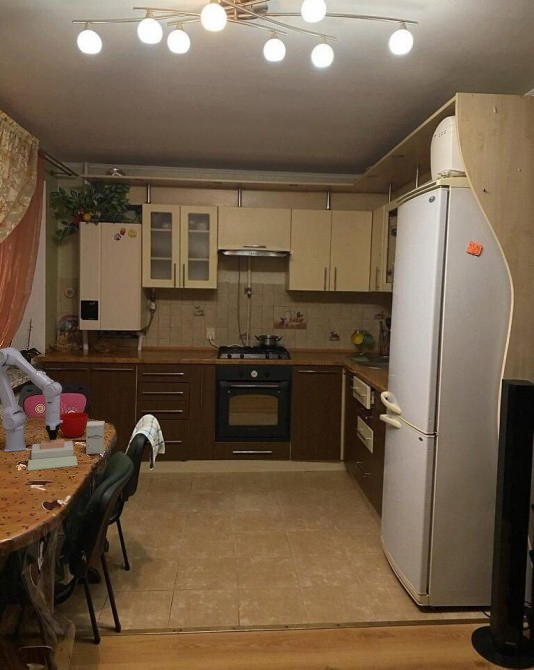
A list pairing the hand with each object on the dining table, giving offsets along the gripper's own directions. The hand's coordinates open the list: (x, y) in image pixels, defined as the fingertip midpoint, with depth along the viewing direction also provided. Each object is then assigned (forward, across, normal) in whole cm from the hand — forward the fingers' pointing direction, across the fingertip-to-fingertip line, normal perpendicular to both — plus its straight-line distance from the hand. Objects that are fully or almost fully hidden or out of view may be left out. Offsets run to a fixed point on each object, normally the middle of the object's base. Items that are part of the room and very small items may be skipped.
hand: (52, 442), depth 219 cm
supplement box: (+4, -7, -17) cm, 19 cm away
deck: (+4, -4, 0) cm, 6 cm away
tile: (+1, -4, 0) cm, 4 cm away
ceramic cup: (+4, +22, -10) cm, 25 cm away
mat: (+4, -18, 0) cm, 18 cm away
